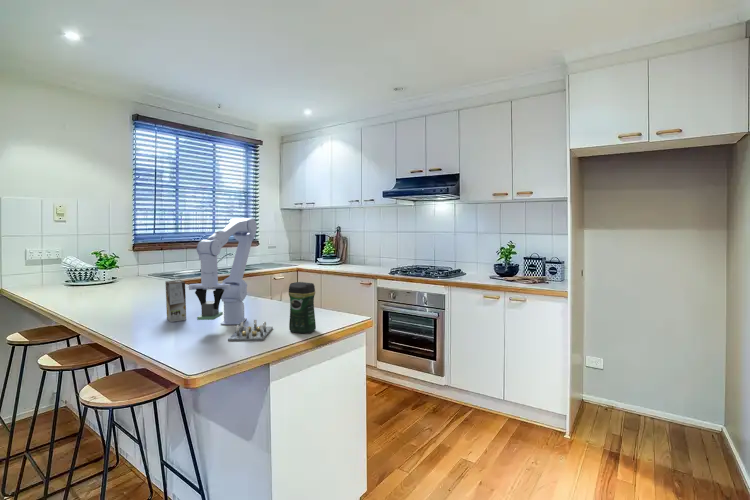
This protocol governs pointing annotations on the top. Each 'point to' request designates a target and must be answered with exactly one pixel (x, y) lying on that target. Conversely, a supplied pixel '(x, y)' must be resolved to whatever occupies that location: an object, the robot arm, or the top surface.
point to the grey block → (209, 311)
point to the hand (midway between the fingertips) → (210, 308)
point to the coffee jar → (302, 307)
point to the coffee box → (175, 300)
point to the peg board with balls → (250, 332)
